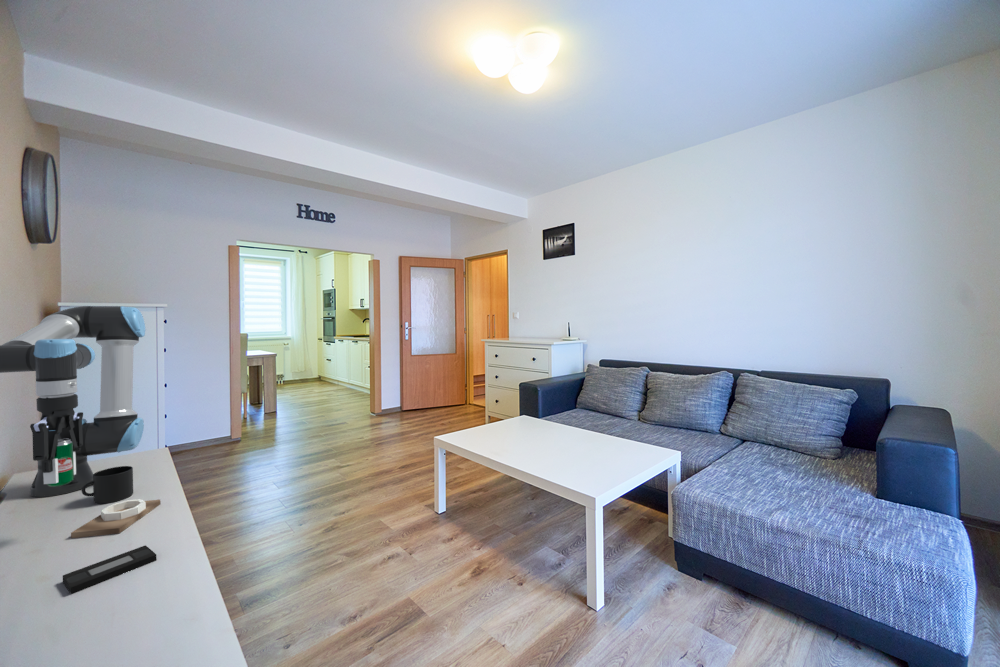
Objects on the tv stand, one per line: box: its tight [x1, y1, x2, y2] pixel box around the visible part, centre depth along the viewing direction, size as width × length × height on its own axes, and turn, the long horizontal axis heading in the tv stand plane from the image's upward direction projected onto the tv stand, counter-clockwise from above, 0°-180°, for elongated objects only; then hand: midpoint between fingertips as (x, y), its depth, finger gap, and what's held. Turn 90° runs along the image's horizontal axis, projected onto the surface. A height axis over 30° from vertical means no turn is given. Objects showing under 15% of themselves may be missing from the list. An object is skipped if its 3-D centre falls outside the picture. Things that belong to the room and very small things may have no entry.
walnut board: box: [70, 499, 161, 539], centre depth 116 cm, size 18×11×2 cm, turn 13°
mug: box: [81, 465, 134, 505], centre depth 129 cm, size 9×12×9 cm
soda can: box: [47, 438, 74, 486], centre depth 108 cm, size 5×5×12 cm
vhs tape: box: [62, 544, 158, 595], centre depth 92 cm, size 8×14×2 cm, turn 147°
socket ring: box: [100, 498, 146, 521], centre depth 117 cm, size 9×9×2 cm
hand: (60, 478), depth 108 cm, fingers closed on soda can, 5 cm apart
